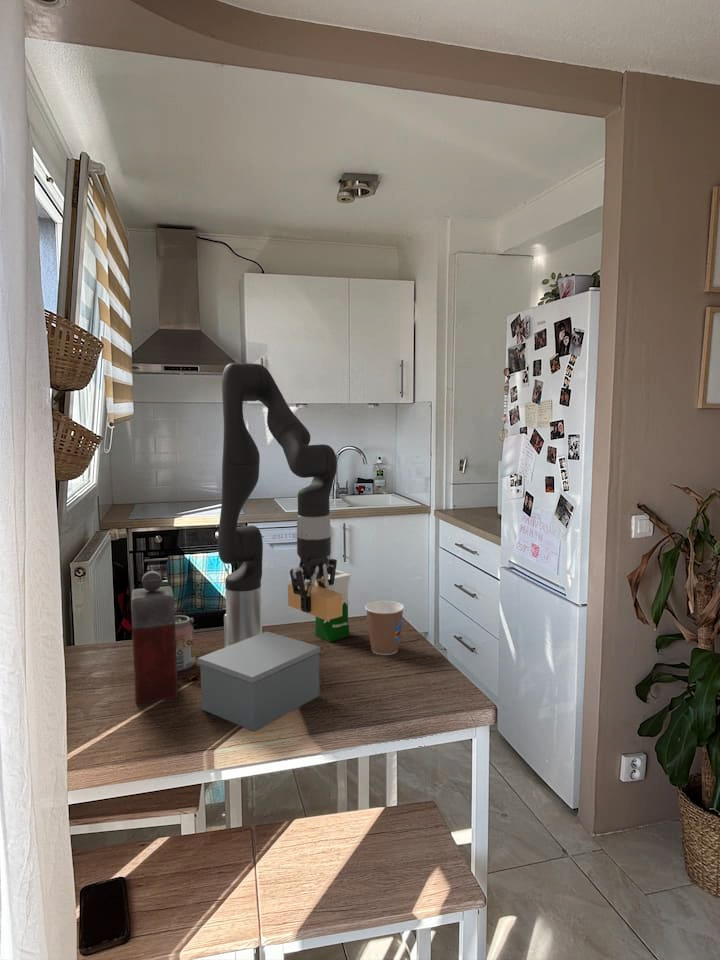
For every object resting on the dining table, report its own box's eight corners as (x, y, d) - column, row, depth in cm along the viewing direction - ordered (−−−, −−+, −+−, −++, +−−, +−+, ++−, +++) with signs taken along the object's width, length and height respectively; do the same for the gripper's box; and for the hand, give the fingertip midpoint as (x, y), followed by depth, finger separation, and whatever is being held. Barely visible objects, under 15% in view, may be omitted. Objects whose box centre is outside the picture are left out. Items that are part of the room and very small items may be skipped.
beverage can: (159, 660, 166) (157, 615, 165) (193, 656, 169) (191, 611, 168) (161, 674, 158) (159, 626, 156) (197, 669, 161) (195, 622, 159)
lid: (198, 663, 138) (197, 657, 138) (266, 636, 154) (266, 631, 154) (252, 683, 128) (252, 677, 128) (319, 651, 144) (319, 646, 144)
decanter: (175, 677, 156) (171, 563, 153) (177, 697, 145) (173, 574, 142) (136, 682, 153) (130, 566, 150) (135, 703, 143) (129, 578, 139)
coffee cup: (405, 657, 167) (405, 612, 166) (365, 657, 168) (364, 612, 166) (403, 643, 178) (403, 600, 176) (365, 643, 178) (365, 600, 176)
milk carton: (335, 628, 190) (334, 561, 187) (354, 636, 183) (354, 567, 180) (310, 635, 184) (309, 566, 182) (329, 644, 177) (328, 572, 175)
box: (201, 709, 140) (200, 664, 138) (268, 678, 155) (267, 637, 154) (253, 731, 130) (252, 683, 129) (319, 695, 146) (318, 652, 145)
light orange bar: (288, 605, 151) (287, 584, 150) (303, 601, 154) (303, 580, 153) (326, 620, 140) (326, 598, 140) (342, 616, 143) (342, 594, 143)
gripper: (305, 542, 137) (306, 620, 139) (346, 531, 149) (346, 603, 151) (279, 537, 141) (280, 613, 143) (321, 527, 153) (321, 597, 155)
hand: (314, 608), depth 147 cm, fingers closed on light orange bar, 5 cm apart
